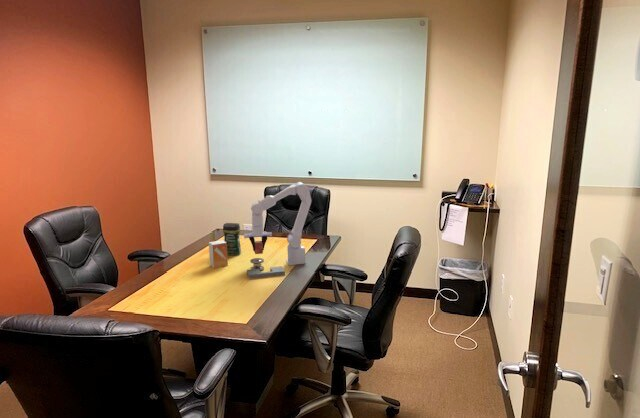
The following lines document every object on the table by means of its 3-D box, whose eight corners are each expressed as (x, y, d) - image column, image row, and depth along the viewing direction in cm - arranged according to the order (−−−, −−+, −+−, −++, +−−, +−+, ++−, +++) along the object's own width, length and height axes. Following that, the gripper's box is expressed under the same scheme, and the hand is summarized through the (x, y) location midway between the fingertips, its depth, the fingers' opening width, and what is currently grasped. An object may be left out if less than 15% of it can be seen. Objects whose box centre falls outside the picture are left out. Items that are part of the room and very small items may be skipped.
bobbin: (263, 266, 228) (262, 257, 227) (265, 270, 222) (264, 261, 221) (249, 267, 226) (249, 258, 225) (251, 272, 220) (251, 262, 219)
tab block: (261, 251, 231) (261, 240, 230) (262, 253, 227) (262, 242, 226) (254, 252, 230) (254, 241, 229) (255, 254, 226) (255, 243, 225)
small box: (213, 268, 226) (212, 244, 223) (209, 265, 231) (208, 242, 229) (228, 265, 230) (227, 242, 228) (224, 262, 235) (222, 239, 233)
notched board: (281, 269, 223) (281, 266, 222) (284, 274, 215) (284, 271, 215) (247, 273, 218) (246, 269, 217) (249, 278, 210) (248, 275, 210)
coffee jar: (222, 255, 248) (220, 224, 244) (227, 251, 256) (225, 221, 252) (238, 256, 246) (236, 225, 243) (242, 252, 254) (241, 221, 250)
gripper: (270, 222, 232) (270, 247, 234) (243, 224, 228) (243, 249, 230) (272, 225, 225) (272, 250, 228) (244, 227, 221) (245, 252, 224)
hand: (258, 250), depth 228 cm, fingers closed on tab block, 4 cm apart
